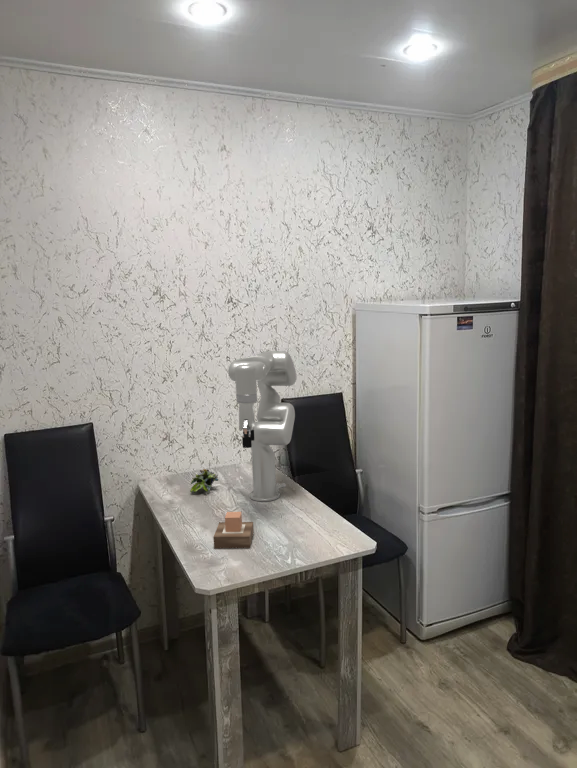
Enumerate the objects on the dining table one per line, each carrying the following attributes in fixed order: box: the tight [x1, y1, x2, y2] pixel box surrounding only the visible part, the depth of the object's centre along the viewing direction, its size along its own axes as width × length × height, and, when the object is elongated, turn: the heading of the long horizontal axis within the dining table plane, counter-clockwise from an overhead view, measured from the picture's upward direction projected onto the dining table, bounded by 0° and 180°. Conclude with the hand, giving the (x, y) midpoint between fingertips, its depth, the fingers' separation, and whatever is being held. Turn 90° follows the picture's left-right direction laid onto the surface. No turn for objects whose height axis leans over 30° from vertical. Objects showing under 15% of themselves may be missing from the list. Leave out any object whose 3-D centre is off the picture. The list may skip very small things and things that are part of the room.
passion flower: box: [189, 468, 219, 494], centre depth 239 cm, size 11×11×12 cm
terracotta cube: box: [224, 511, 243, 532], centre depth 190 cm, size 5×5×5 cm
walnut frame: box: [212, 521, 255, 549], centre depth 191 cm, size 12×12×4 cm
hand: (248, 443), depth 207 cm, fingers open, 9 cm apart
